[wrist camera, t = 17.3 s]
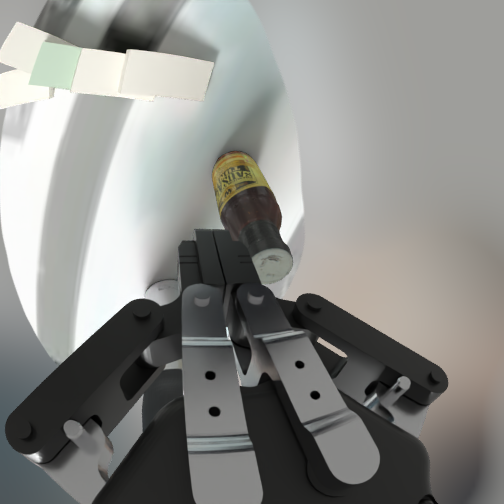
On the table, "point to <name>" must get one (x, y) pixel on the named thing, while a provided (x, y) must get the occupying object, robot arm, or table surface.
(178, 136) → the table surface
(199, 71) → the domino
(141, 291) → the table surface
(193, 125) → the table surface
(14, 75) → the domino
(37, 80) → the domino
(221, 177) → the sauce bottle
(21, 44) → the domino
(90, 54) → the domino
